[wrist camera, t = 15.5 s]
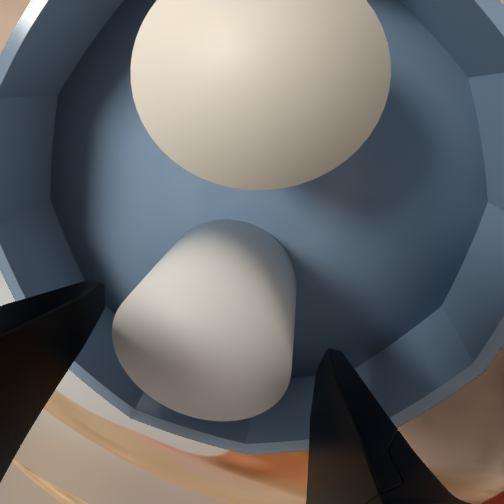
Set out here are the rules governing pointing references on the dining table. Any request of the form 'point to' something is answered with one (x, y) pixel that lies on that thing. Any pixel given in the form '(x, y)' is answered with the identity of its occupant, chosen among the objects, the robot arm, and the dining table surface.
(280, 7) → the pebble sand
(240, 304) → the pebble grey
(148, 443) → the dining table surface
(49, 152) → the glazed bowl
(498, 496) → the plant saucer
